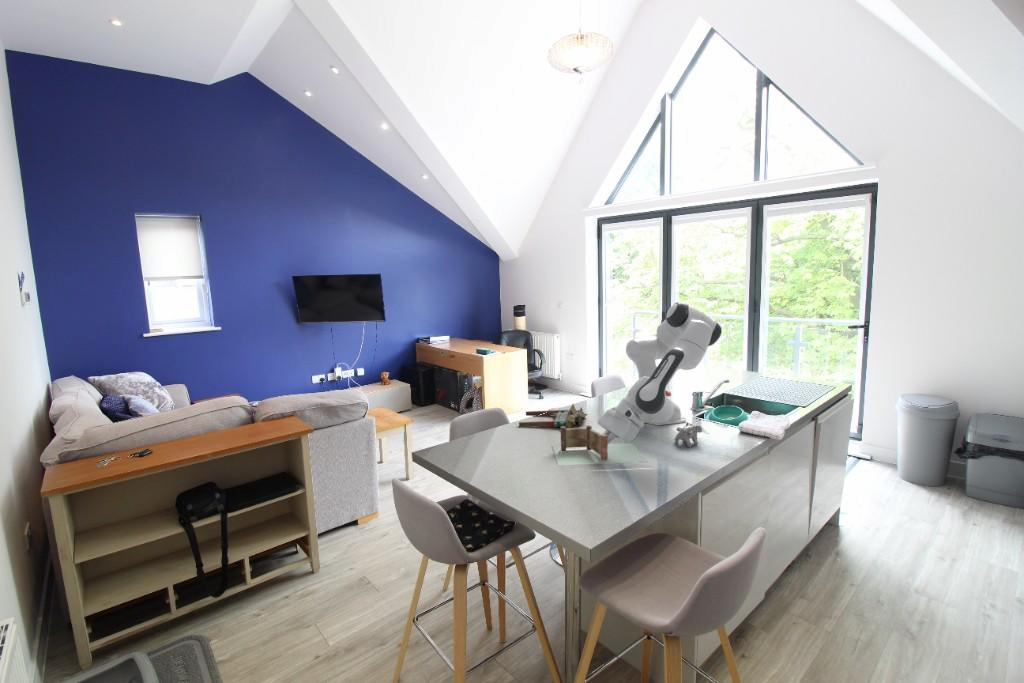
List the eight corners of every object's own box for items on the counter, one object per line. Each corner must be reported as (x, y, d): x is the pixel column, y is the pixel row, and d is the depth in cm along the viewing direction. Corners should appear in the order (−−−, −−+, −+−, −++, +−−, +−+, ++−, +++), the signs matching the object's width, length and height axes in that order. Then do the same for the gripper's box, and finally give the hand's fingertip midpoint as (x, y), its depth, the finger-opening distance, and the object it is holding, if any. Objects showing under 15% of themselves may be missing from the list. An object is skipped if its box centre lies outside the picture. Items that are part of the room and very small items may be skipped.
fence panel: (588, 449, 186) (588, 427, 185) (592, 449, 187) (592, 426, 186) (603, 459, 176) (603, 436, 174) (607, 459, 176) (607, 435, 175)
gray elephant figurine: (671, 445, 192) (671, 426, 190) (683, 435, 201) (683, 417, 199) (695, 450, 186) (695, 431, 184) (706, 440, 195) (706, 421, 193)
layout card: (631, 443, 193) (631, 442, 193) (647, 462, 174) (647, 461, 174) (551, 447, 192) (551, 445, 192) (558, 466, 172) (558, 465, 172)
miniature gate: (527, 406, 242) (587, 403, 235) (528, 416, 242) (588, 414, 236) (516, 422, 216) (584, 419, 209) (518, 434, 216) (585, 431, 210)
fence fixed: (591, 448, 189) (591, 425, 188) (592, 449, 187) (592, 426, 186) (560, 449, 188) (560, 426, 187) (561, 451, 186) (561, 428, 185)
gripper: (607, 401, 189) (586, 429, 187) (635, 416, 169) (611, 447, 168) (618, 410, 191) (596, 438, 189) (647, 426, 171) (623, 457, 170)
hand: (604, 442), depth 179 cm, fingers closed, pressing on fence panel
